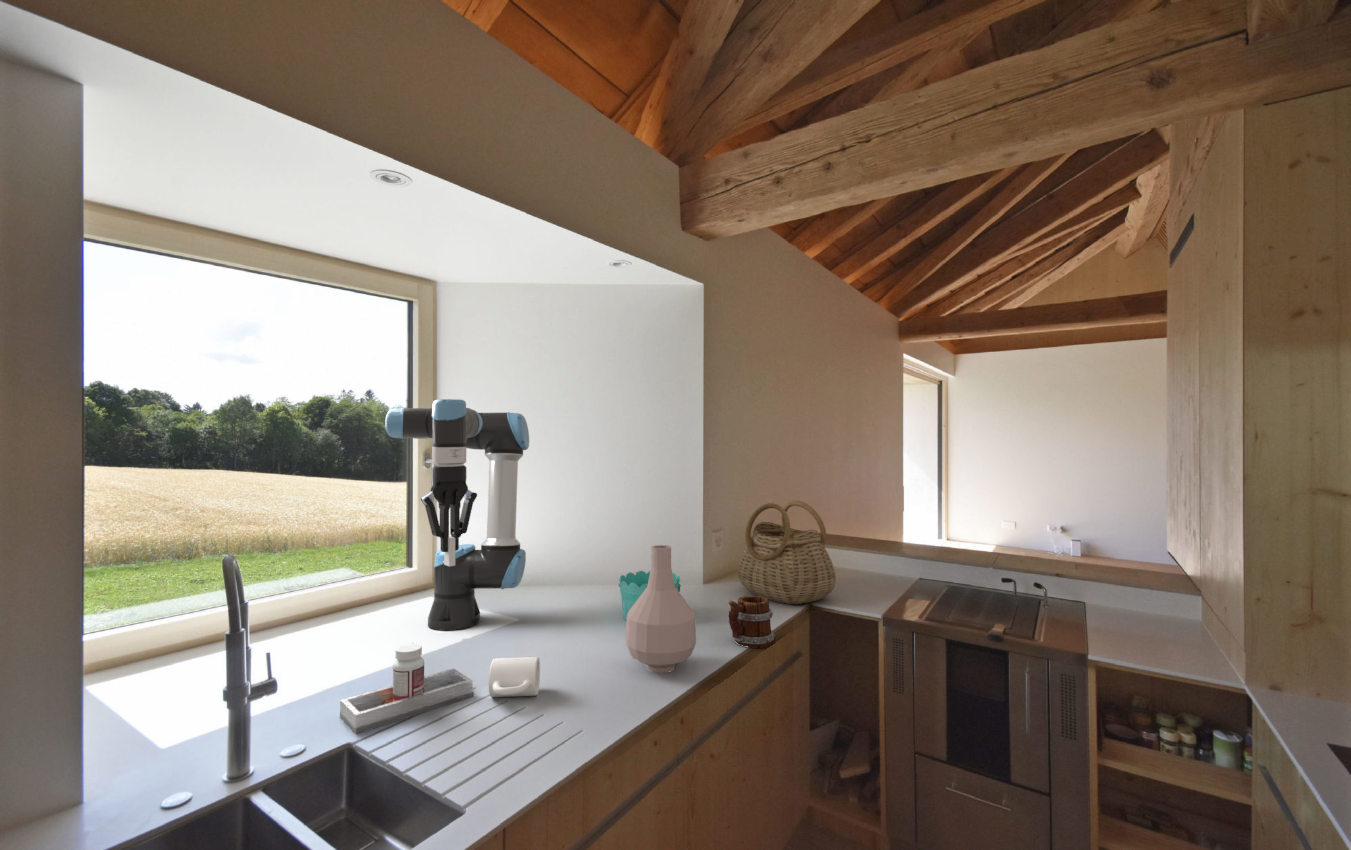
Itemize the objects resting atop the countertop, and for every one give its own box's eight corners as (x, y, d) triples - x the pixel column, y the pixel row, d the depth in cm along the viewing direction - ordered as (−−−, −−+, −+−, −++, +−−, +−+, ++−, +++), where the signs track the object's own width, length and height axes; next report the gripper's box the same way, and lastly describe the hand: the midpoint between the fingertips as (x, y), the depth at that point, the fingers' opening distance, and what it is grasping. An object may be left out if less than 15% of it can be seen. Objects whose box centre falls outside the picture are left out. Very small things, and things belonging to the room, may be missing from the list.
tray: (355, 733, 118) (355, 715, 118) (339, 716, 125) (339, 699, 125) (473, 696, 135) (473, 680, 135) (453, 683, 142) (453, 667, 142)
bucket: (609, 621, 189) (609, 579, 189) (635, 606, 205) (635, 567, 206) (666, 629, 181) (666, 586, 181) (688, 612, 198) (688, 572, 198)
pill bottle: (423, 692, 134) (423, 640, 135) (425, 703, 129) (425, 649, 129) (392, 697, 132) (392, 645, 132) (393, 709, 126) (393, 654, 126)
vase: (643, 687, 140) (643, 556, 140) (614, 662, 155) (615, 543, 156) (709, 674, 148) (709, 549, 148) (675, 650, 164) (676, 538, 164)
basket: (850, 600, 213) (850, 504, 213) (795, 614, 197) (795, 509, 197) (777, 580, 241) (777, 495, 242) (724, 591, 225) (724, 499, 225)
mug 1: (496, 687, 140) (496, 652, 140) (540, 686, 141) (540, 651, 141) (484, 711, 128) (484, 673, 128) (532, 710, 129) (532, 672, 129)
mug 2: (785, 641, 171) (779, 589, 169) (750, 661, 162) (744, 607, 160) (755, 630, 180) (749, 581, 178) (720, 649, 171) (713, 598, 169)
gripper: (428, 467, 136) (428, 572, 137) (483, 464, 145) (483, 563, 146) (415, 465, 142) (415, 566, 142) (468, 462, 151) (468, 557, 151)
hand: (449, 564), depth 144 cm, fingers closed
